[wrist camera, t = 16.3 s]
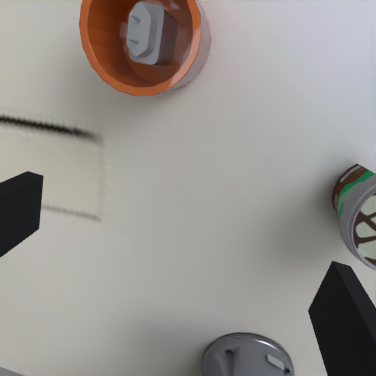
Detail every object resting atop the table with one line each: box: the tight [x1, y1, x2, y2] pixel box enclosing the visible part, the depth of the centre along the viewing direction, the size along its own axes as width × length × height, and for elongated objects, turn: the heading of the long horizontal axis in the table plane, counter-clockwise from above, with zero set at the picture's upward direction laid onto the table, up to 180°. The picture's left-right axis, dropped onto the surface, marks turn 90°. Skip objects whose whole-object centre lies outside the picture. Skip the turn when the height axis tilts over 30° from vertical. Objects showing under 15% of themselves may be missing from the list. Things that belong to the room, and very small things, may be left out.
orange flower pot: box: [79, 0, 211, 96], centre depth 33 cm, size 12×12×10 cm
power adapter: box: [126, 2, 178, 66], centre depth 32 cm, size 3×5×12 cm, turn 169°
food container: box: [332, 164, 376, 270], centre depth 37 cm, size 12×6×10 cm, turn 32°
